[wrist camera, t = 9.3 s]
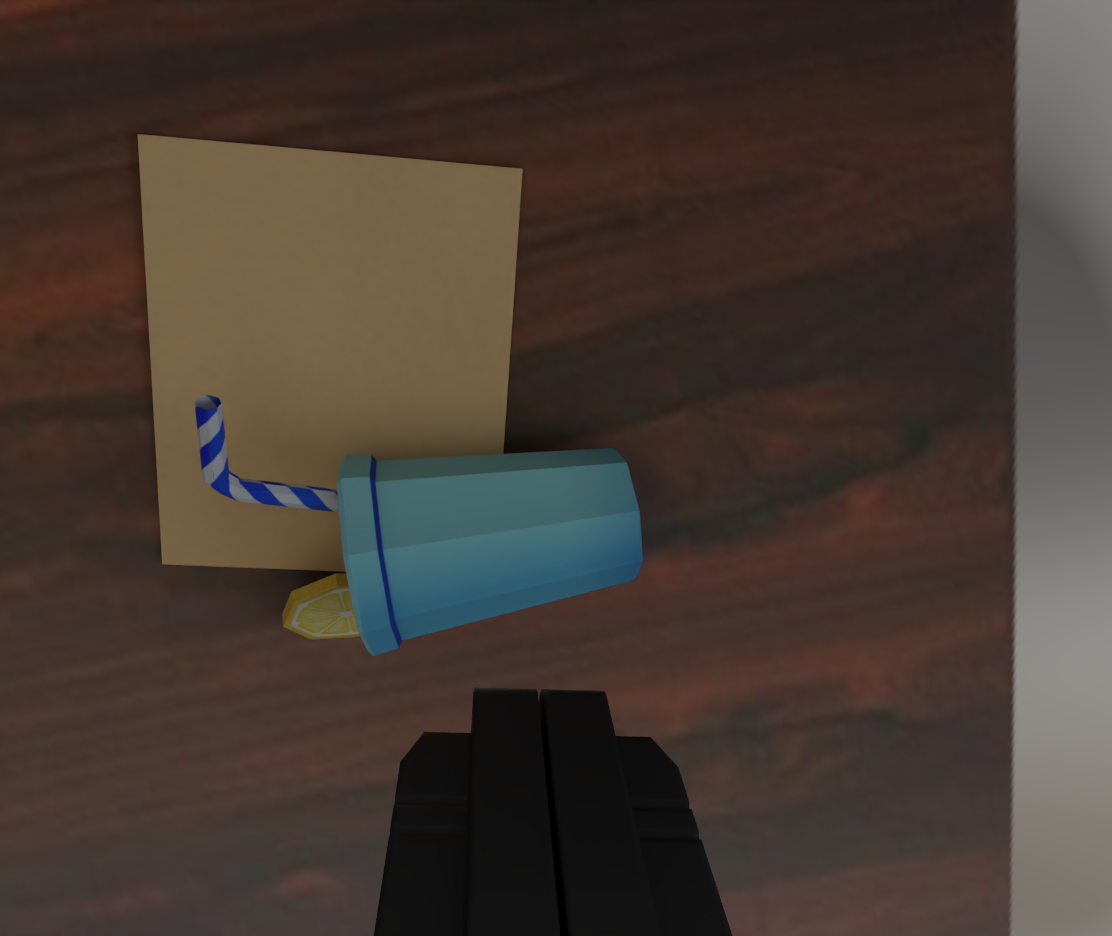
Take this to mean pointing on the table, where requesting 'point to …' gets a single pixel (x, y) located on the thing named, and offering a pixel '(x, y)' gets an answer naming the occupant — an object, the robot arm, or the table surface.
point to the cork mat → (317, 328)
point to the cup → (449, 535)
